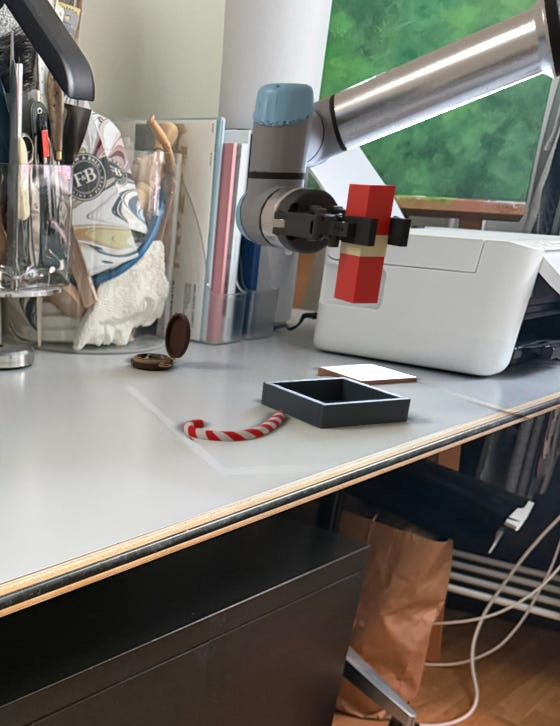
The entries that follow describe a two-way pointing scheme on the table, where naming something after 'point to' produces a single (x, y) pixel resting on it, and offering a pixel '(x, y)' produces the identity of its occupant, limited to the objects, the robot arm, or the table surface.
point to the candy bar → (365, 262)
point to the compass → (167, 345)
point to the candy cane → (194, 431)
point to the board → (366, 374)
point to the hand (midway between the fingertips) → (389, 232)
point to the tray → (335, 402)
